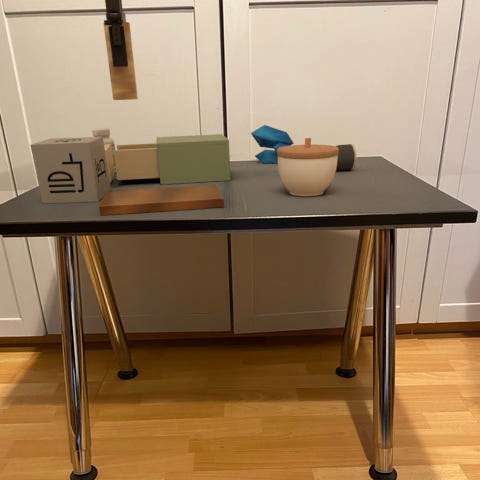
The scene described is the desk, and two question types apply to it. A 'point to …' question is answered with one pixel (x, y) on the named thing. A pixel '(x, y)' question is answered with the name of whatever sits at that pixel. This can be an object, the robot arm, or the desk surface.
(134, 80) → the pepper mill
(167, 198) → the cutting board
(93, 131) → the supplement bottle
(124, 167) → the drawer
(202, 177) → the cabinet
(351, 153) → the flashlight
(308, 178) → the trinket box
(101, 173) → the icon cube
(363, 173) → the desk surface
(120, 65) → the robot arm
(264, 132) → the crystal
